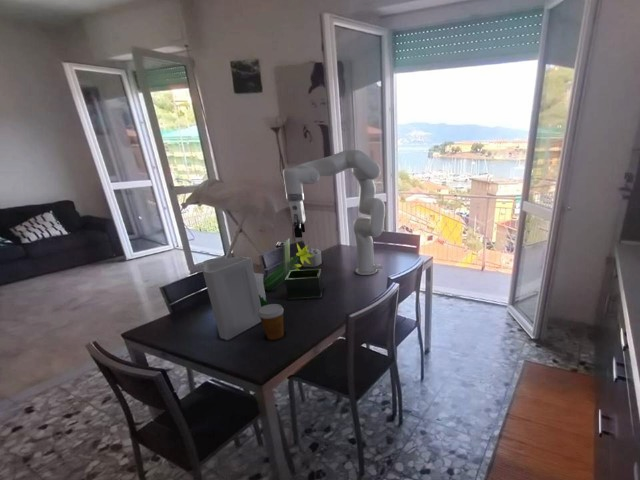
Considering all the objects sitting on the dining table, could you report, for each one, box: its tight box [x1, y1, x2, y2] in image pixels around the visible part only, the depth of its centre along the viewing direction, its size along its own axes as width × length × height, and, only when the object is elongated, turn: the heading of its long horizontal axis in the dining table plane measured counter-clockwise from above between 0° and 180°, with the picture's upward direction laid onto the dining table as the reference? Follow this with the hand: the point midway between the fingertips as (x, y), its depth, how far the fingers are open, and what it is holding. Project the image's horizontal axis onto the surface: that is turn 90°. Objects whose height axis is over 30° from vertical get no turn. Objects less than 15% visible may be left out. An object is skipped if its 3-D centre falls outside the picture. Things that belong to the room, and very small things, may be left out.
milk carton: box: [254, 272, 269, 307], centre depth 156 cm, size 9×9×20 cm
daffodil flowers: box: [263, 242, 313, 292], centre depth 194 cm, size 17×15×35 cm
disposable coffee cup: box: [258, 303, 285, 341], centre depth 139 cm, size 10×10×12 cm
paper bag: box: [201, 256, 262, 341], centre depth 144 cm, size 19×15×28 cm
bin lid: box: [275, 237, 291, 279], centre depth 170 cm, size 16×13×5 cm
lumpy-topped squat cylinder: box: [301, 248, 323, 268], centre depth 221 cm, size 10×13×9 cm
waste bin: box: [284, 268, 324, 301], centre depth 177 cm, size 16×13×11 cm
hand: (300, 234), depth 167 cm, fingers open, 9 cm apart
